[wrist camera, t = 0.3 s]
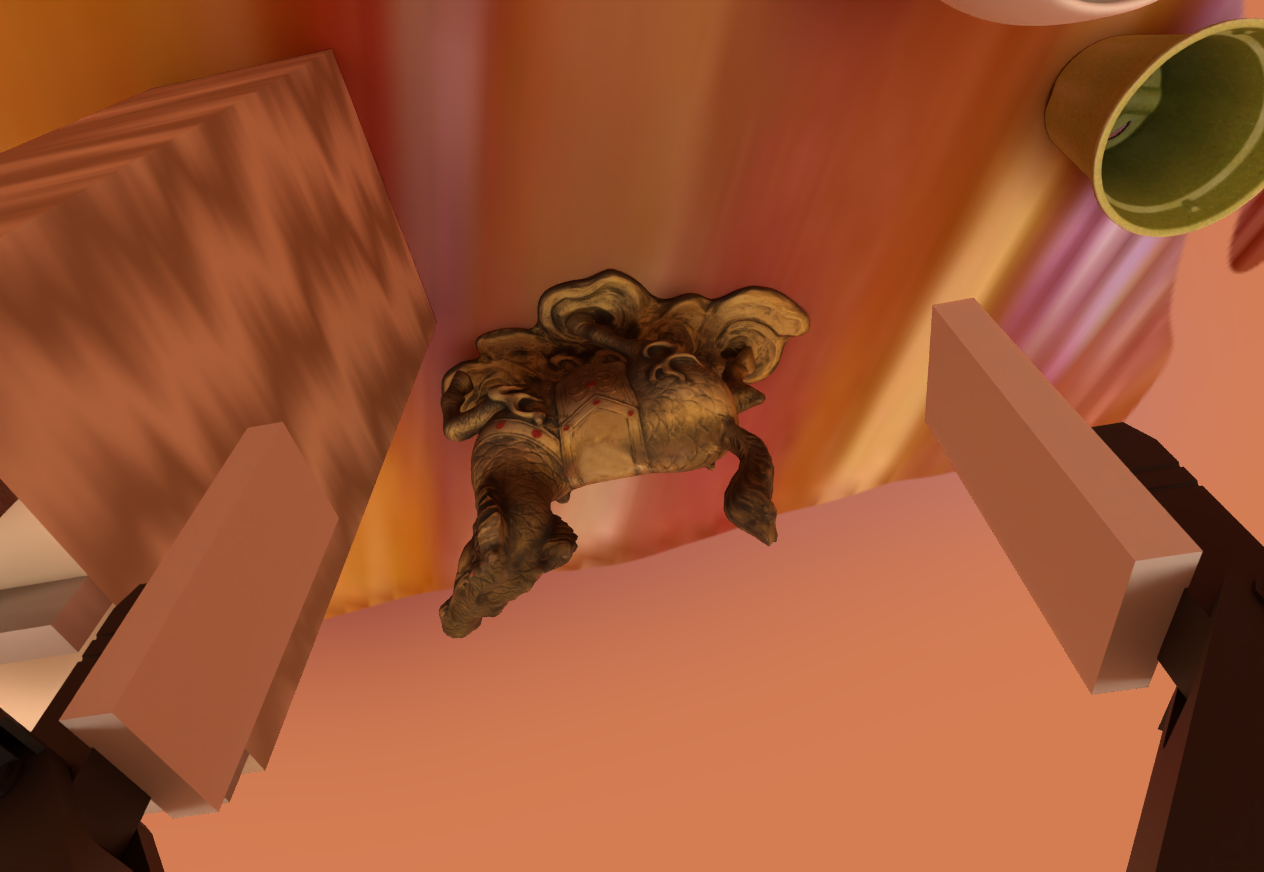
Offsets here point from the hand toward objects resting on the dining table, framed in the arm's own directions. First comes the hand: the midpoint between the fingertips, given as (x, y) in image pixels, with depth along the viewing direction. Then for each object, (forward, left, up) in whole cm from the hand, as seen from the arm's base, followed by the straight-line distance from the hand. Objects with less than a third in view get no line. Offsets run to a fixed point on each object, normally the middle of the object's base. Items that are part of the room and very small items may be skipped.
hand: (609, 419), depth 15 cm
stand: (+3, -18, -30) cm, 36 cm away
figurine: (+16, -2, -31) cm, 35 cm away
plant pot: (+5, +27, -31) cm, 41 cm away
